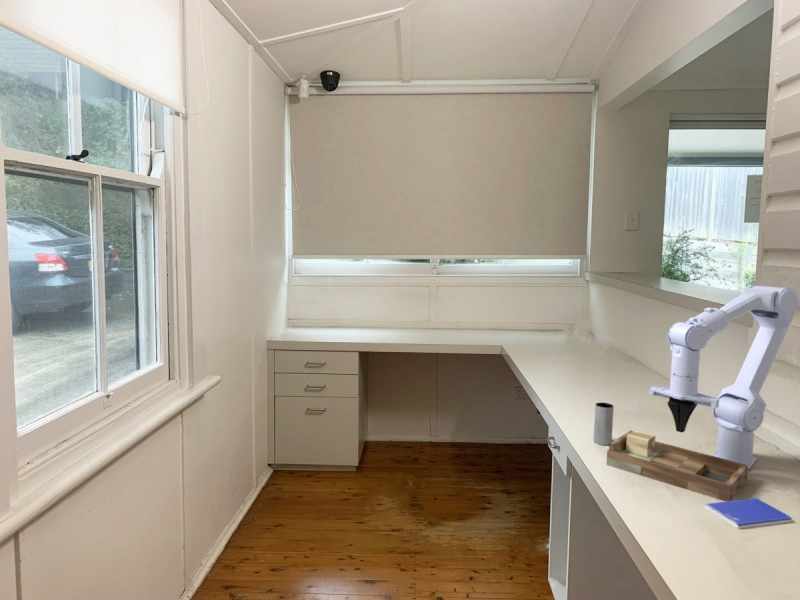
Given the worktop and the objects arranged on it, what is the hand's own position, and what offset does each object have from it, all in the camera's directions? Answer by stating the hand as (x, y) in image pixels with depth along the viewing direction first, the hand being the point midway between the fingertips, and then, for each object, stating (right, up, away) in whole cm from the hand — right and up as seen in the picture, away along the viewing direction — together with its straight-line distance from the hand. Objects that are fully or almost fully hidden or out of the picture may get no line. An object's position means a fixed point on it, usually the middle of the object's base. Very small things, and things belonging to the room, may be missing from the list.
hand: (680, 430), depth 126 cm
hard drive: (+3, -12, -20) cm, 24 cm away
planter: (-12, -8, +17) cm, 22 cm away
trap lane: (-2, -9, -1) cm, 10 cm away
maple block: (-7, -7, +6) cm, 11 cm away
